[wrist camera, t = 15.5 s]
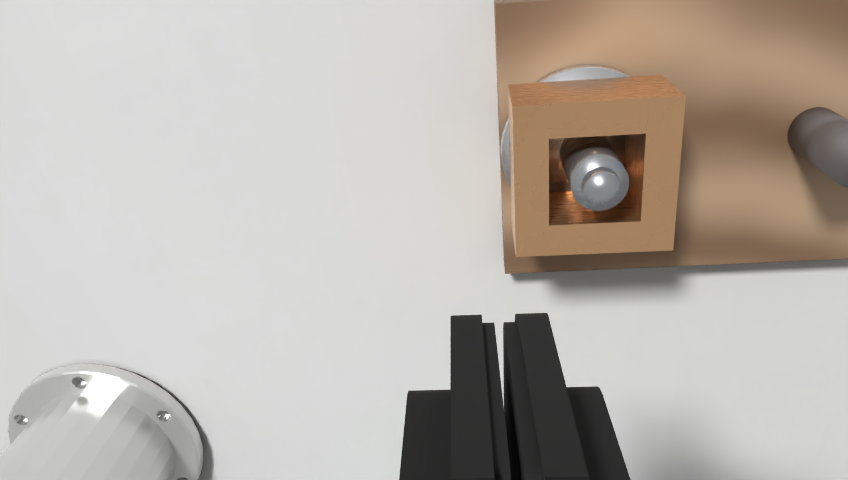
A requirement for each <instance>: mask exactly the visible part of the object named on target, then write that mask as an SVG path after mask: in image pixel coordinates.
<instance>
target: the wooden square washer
mask: <svg viewBox="0 0 848 480" xmlns="http://www.w3.org/2000/svg"><path fill="white" fill-rule="evenodd" d="M685 100H686V95H685V94H683V93H682V92H681V91H680V90H679V89H678V88H676V87H675V86H674V85H673V84H672V83H671V82H669V81H668V80H667V79H666V78H665V77H664V76H662V75H649V76H633V77H618V78H602V79H586V80H570V81H554V82H538V83H523V84H508V117H509V155H510V192H511V223H512V231H513V239H514V246H515V254H516V257H528V256H552V255H576V254H600V253H624V252H648V251H672V250H673V247H674V234H675V222H676V210H677V198H678V186H679V174H680V161H681V149H682V137H683V125H684V113H685ZM612 135H625V154H624V168H625V169H626V171H627V173H628V176H629V188H628V191H627V194H626V195H625V197H624V198H623V200H622V201H621V202H620V203H619V204H617V205H616V206H614V207H612V208H610V209H607V210H603V211H594V210H589V209H587V208H585V207H583V206H581V205H580V204H579V203H578V202H577V201H576V199H575V198H574V195H573V193H572V191H567V192H549V139H558V138H576V137H594V136H612Z"/></svg>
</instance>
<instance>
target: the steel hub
mask: <svg viewBox="0 0 848 480" xmlns="http://www.w3.org/2000/svg"><path fill="white" fill-rule="evenodd" d="M618 77H632V76H631V75H629V74H627V73H626V72H624V71H621V70H619V69H616V68H613V67H609V66H606V65H599V64H579V65H572V66H568V67H564V68H560V69H558V70H556V71H553V72H551V73H549V74H547V75H545V76H543V77H542V78H540V79H539V80H537V81H536V82H534V83H538V82H554V81H570V80H586V79H602V78H618ZM624 154H625V135H612V136H594V137H576V138H558V139H549V192H567V191H572V193H573V195H574V198H575V199H576V201H577V202H578V203H579V204H580V205H581V206H583V207H585V208H587V209H589V210H594V211H603V210H607V209H610V208H612V207H614V206H616V205H617V204H619V203H620V202H621V201H622V200H623V198H624V197H625V195H626V194H627V191H628V188H629V176H628V173H627V171H626V169H625V168H624ZM501 158H502V166H503V171H504V175H505V178H506V180H507V183H508V185H509V187H510V155H509V117H508V116H507V119H506V121H505V124H504V127H503V131H502V137H501Z"/></svg>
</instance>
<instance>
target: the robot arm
mask: <svg viewBox="0 0 848 480" xmlns="http://www.w3.org/2000/svg"><path fill="white" fill-rule="evenodd" d="M503 342H504V408H503V399H502V390H501V381H500V371H499V362H498V353H497V344H496V335H495V326H494V323H482V316H481V315H460V316H451V390H424V391H408V395H407V404H406V415H405V426H404V436H403V447H402V457H401V468H400V479H399V480H630V477H629V474H628V471H627V468H626V465H625V462H624V459H623V456H622V453H621V450H620V447H619V444H618V441H617V438H616V435H615V431H614V428H613V425H612V422H611V419H610V416H609V413H608V410H607V407H606V404H605V401H604V398H603V395H602V392H601V390H600V388H599V387H566V384H565V380H564V376H563V372H562V368H561V364H560V361H559V357H558V353H557V349H556V345H555V341H554V337H553V333H552V329H551V325H550V321H549V317H548V314H547V313H531V314H516V315H515V322H504V326H503ZM8 433H9V438H10V443H11V445H10V446H9V447H8V448H7V449H6V451H5V452H4V453H3V454H2V455H1V456H0V480H198V478H199V476H200V474H201V470H202V465H203V445H202V442H201V438H200V435H199V432H198V430H197V428H196V426H195V424H194V422H193V420H192V418H191V417H190V416H189V415H188V413H187V412H186V411H185V409H184V408H183V407H182V405H181V404H180V403H178V402H177V401H176V400H175V399H174V398H173V397H172V396H171V395H170V394H169V393H168V392H166V391H165V390H163V389H162V388H160V387H159V386H157V385H156V384H154V383H153V382H151V381H149V380H147V379H145V378H143V377H141V376H139V375H137V374H135V373H132V372H129V371H126V370H123V369H120V368H117V367H111V366H105V365H99V364H74V365H68V366H63V367H59V368H56V369H54V370H51V371H48V372H46V373H44V374H43V375H41V376H40V377H38V378H37V379H35V380H34V381H33V382H32V383H31V384H30V385H29V386H28V387H27V388H26V389H25V390H24V391H23V392H22V393H21V394H20V396H19V397H18V399H17V400H16V402H15V403H14V404H13V407H12V410H11V412H10V415H9V426H8Z"/></svg>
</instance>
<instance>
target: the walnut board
mask: <svg viewBox="0 0 848 480" xmlns="http://www.w3.org/2000/svg"><path fill="white" fill-rule="evenodd" d="M494 8H495V34H496V61H497V87H498V114H499V140H500V167H501V193H502V220H503V246H504V266H505V274H509V273H532V272H555V271H577V270H600V269H623V268H646V267H668V266H691V265H714V264H736V263H759V262H782V261H804V260H827V259H848V0H494ZM579 64H599V65H606V66H609V67H613V68H616V69H619V70H621V71H624V72H626V73H627V74H629V75H631V76H632V77H633V76H649V75H662V76H664V77H665V78H666V79H667V80H668V81H669V82H671V83H672V84H673V85H674V86H675V87H676V88H678V89H679V90H680V91H681V92H682V93H683V94H685V95H686V100H685V113H684V125H683V137H682V149H681V161H680V174H679V186H678V198H677V210H676V222H675V234H674V247H673V250H672V251H648V252H624V253H600V254H576V255H552V256H528V257H516V254H515V246H514V239H513V231H512V223H511V192H510V187H509V185H508V183H507V180H506V178H505V175H504V171H503V166H502V158H501V137H502V131H503V127H504V124H505V121H506V119H507V116H508V84H523V83H534V82H536V81H537V80H539V79H540V78H542V77H543V76H545V75H547V74H549V73H551V72H553V71H556V70H558V69H560V68H564V67H568V66H572V65H579Z"/></svg>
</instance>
